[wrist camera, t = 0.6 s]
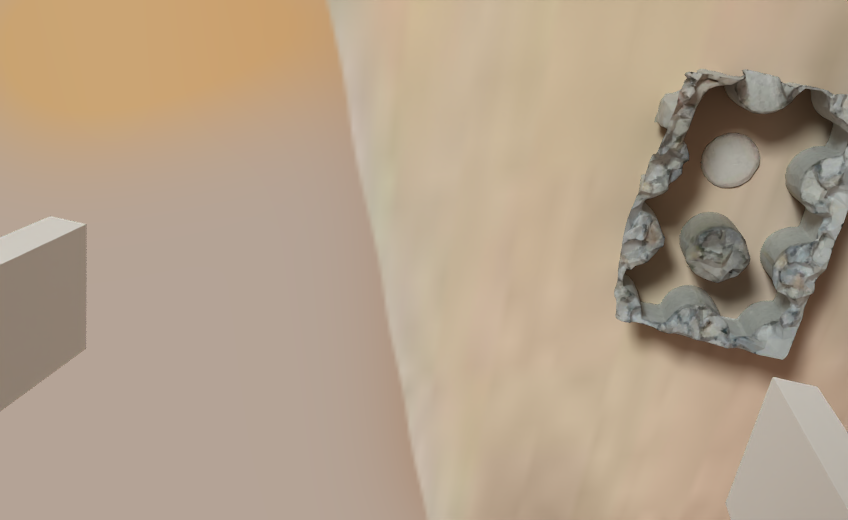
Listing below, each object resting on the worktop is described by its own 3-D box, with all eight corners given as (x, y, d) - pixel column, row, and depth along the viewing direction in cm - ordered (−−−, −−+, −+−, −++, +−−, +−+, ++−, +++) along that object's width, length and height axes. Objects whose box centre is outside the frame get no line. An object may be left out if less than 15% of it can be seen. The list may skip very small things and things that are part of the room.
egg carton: (669, 50, 30) (685, 58, 26) (862, 93, 29) (907, 107, 25) (594, 291, 34) (599, 328, 30) (763, 334, 33) (790, 378, 29)
